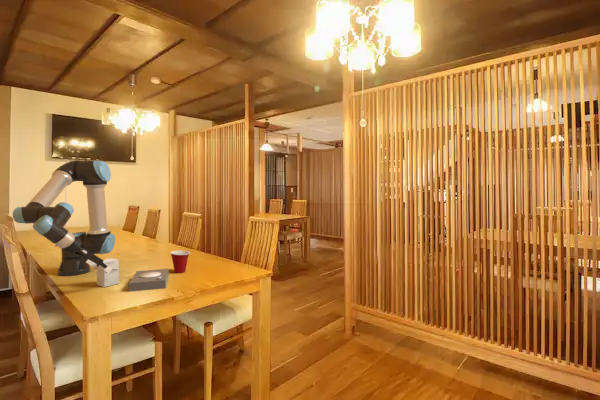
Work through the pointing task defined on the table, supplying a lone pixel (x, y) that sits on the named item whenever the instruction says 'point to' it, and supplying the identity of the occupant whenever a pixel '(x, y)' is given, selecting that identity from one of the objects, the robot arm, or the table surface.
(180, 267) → the plastic cup
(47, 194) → the robot arm
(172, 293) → the table surface
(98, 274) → the supplement box
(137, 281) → the grey base plate
